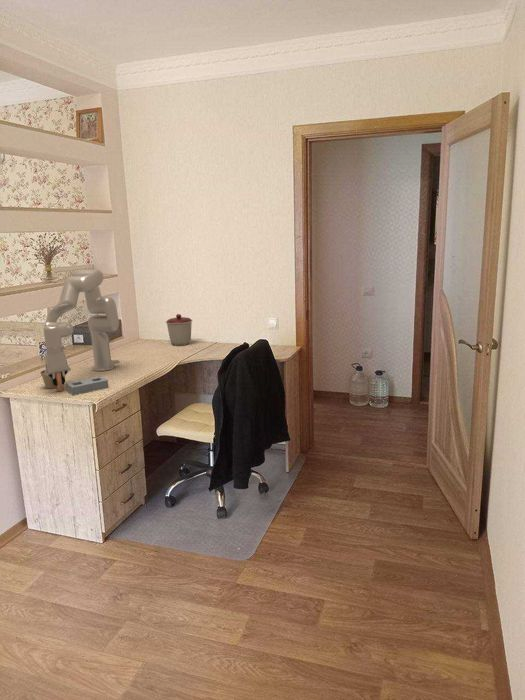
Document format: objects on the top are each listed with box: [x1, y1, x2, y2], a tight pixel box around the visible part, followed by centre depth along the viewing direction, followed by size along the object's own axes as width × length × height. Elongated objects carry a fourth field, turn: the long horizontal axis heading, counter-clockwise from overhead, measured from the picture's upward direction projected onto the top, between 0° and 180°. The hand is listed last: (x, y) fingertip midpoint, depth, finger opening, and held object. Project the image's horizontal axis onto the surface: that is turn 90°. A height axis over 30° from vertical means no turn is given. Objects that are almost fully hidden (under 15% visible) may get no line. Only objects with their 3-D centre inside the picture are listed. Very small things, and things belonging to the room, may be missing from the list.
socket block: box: [65, 375, 109, 396], centre depth 271 cm, size 18×10×4 cm, turn 127°
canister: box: [165, 313, 193, 347], centre depth 364 cm, size 18×18×21 cm
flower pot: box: [39, 369, 57, 389], centre depth 278 cm, size 9×9×9 cm
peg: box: [55, 372, 64, 392], centre depth 269 cm, size 3×3×11 cm
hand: (59, 384), depth 270 cm, fingers closed on peg, 3 cm apart
